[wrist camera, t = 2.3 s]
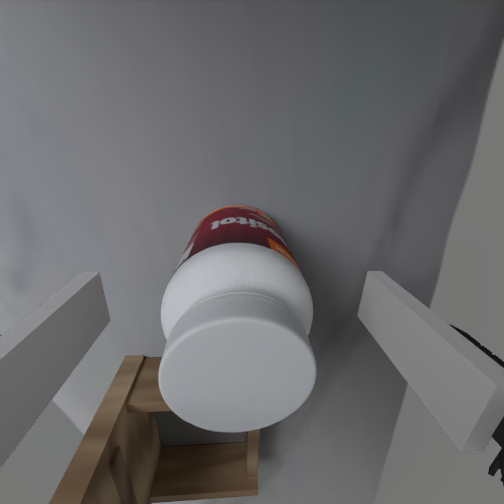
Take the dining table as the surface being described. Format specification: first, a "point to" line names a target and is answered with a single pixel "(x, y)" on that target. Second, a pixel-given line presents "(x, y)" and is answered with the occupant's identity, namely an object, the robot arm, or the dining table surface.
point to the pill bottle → (236, 326)
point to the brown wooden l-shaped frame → (150, 452)
